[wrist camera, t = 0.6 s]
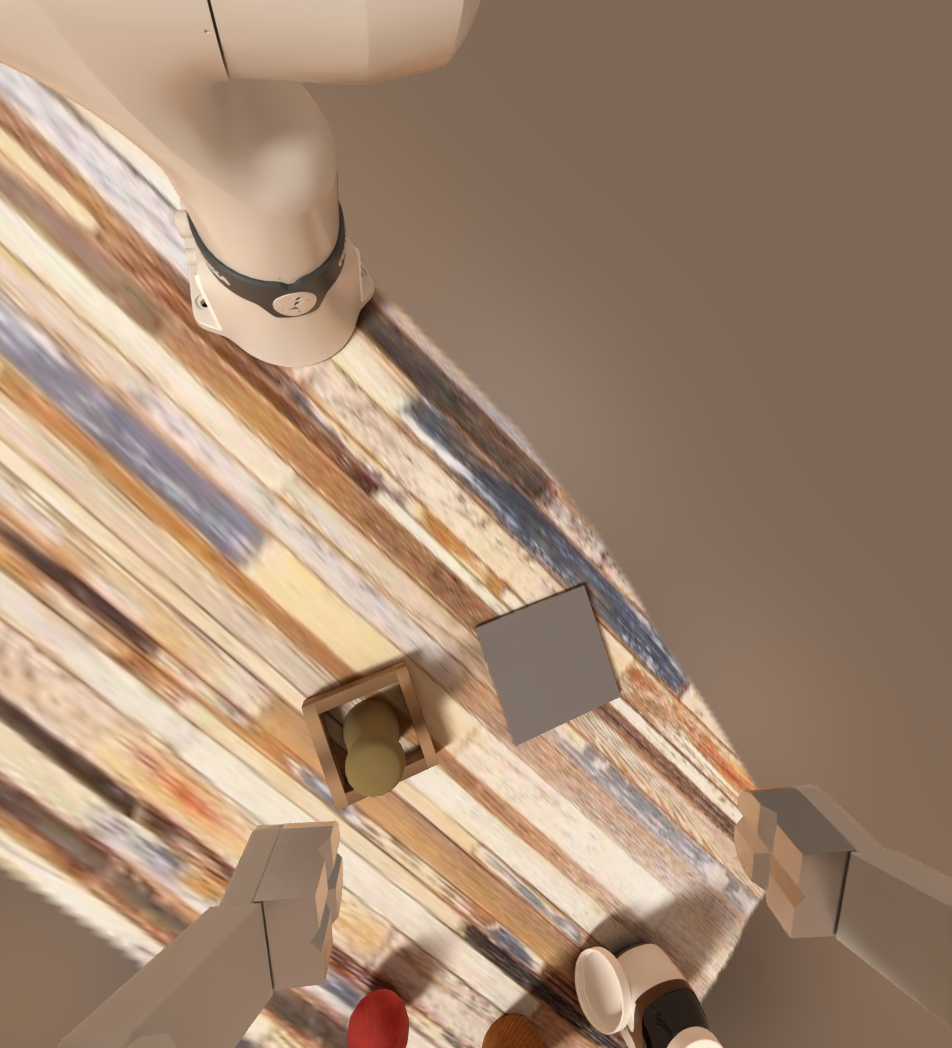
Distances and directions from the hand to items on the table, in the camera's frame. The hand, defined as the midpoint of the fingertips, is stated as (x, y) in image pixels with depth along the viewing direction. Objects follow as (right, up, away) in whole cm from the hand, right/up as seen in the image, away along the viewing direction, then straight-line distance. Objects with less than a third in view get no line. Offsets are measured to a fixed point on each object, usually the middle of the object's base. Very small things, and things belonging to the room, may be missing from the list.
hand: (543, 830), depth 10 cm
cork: (-13, -16, +43) cm, 47 cm away
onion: (-12, -43, +41) cm, 60 cm away
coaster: (+7, -10, +48) cm, 49 cm away
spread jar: (+15, -46, +48) cm, 68 cm away
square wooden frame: (-12, -16, +43) cm, 47 cm away
